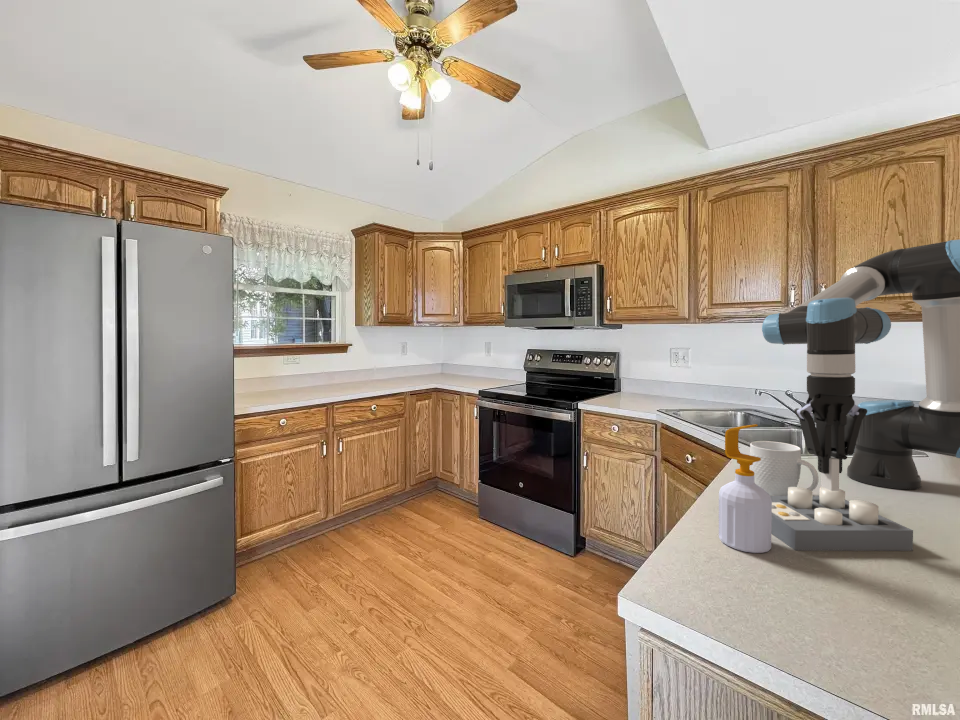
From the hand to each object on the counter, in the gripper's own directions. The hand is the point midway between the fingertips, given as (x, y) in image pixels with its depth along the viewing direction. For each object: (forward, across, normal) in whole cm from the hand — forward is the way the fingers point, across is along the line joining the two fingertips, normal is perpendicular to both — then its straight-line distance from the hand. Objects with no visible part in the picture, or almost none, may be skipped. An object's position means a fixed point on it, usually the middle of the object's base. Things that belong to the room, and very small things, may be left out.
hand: (829, 488), depth 85 cm
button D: (+9, +1, 0) cm, 9 cm away
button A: (+8, -6, -8) cm, 13 cm away
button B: (+8, -6, 0) cm, 10 cm away
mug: (+11, -5, -24) cm, 27 cm away
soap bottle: (+10, +19, +2) cm, 21 cm away
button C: (+8, +1, -8) cm, 11 cm away
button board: (+11, 0, -4) cm, 11 cm away
